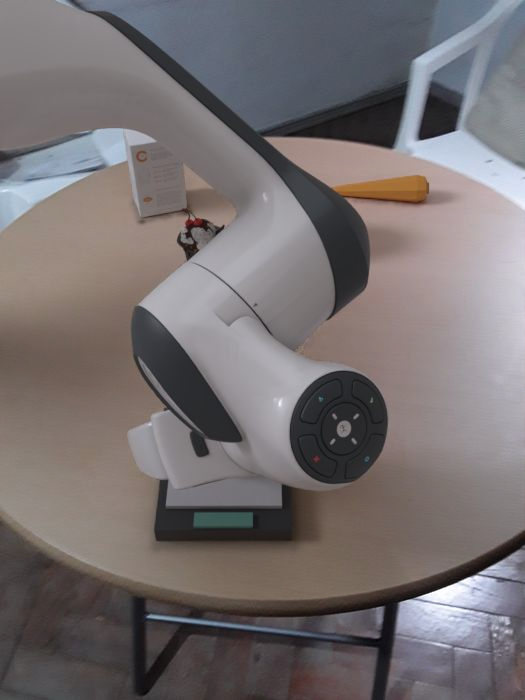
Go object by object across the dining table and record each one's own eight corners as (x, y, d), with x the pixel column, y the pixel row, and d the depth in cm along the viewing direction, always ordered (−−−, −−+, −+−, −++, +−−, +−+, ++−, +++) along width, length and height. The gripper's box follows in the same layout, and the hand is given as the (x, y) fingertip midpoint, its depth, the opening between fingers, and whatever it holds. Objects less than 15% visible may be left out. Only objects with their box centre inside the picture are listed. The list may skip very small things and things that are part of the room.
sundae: (172, 296, 98) (162, 206, 87) (207, 275, 101) (201, 186, 90) (203, 318, 94) (196, 227, 84) (238, 295, 98) (236, 206, 87)
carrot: (426, 199, 117) (427, 172, 116) (429, 204, 113) (430, 176, 112) (311, 202, 120) (310, 176, 119) (309, 206, 116) (308, 180, 114)
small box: (178, 190, 118) (171, 119, 109) (188, 210, 114) (181, 137, 104) (132, 198, 116) (121, 127, 107) (140, 218, 112) (129, 145, 102)
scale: (155, 540, 70) (153, 527, 68) (168, 433, 80) (166, 419, 78) (291, 540, 70) (292, 527, 68) (287, 433, 80) (288, 419, 78)
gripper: (360, 343, 59) (301, 351, 72) (132, 422, 52) (114, 415, 66) (381, 412, 59) (319, 408, 72) (157, 499, 53) (134, 477, 66)
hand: (220, 412), depth 69 cm, fingers open, 7 cm apart
